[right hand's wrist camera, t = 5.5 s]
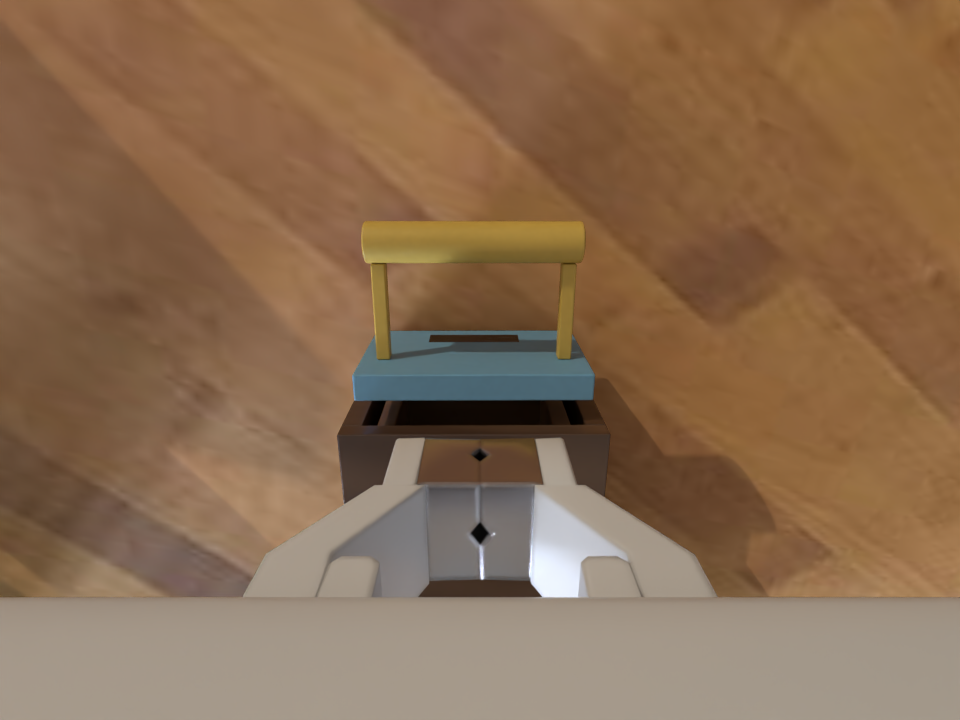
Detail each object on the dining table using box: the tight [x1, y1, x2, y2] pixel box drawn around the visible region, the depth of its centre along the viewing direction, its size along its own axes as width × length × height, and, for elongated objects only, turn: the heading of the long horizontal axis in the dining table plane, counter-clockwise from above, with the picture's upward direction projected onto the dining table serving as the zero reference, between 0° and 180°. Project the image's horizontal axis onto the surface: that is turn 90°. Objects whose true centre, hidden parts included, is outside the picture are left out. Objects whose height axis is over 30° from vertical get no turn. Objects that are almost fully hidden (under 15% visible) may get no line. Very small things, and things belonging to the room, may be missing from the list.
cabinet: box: [337, 400, 610, 597], centre depth 30 cm, size 20×11×8 cm, turn 0°
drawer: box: [352, 221, 595, 426], centre depth 28 cm, size 25×10×6 cm, turn 0°
